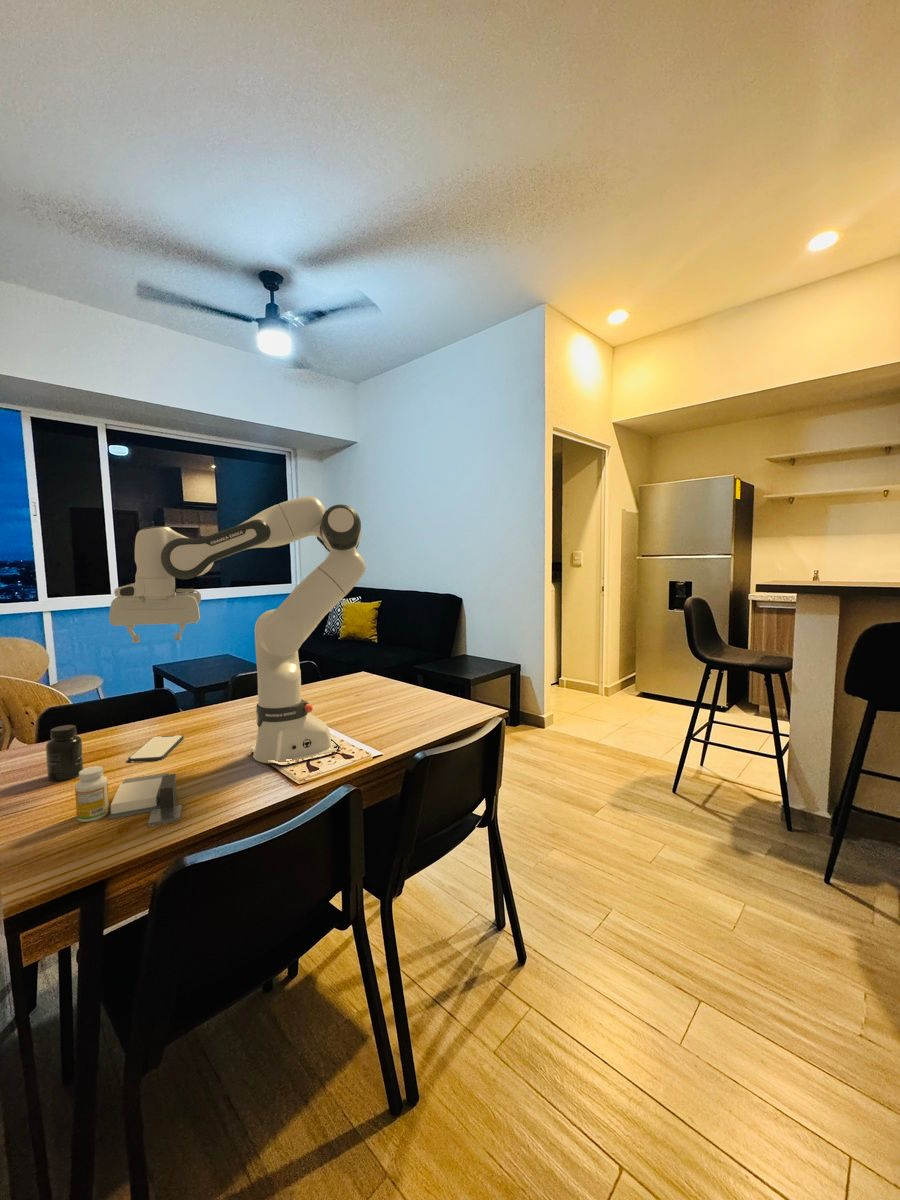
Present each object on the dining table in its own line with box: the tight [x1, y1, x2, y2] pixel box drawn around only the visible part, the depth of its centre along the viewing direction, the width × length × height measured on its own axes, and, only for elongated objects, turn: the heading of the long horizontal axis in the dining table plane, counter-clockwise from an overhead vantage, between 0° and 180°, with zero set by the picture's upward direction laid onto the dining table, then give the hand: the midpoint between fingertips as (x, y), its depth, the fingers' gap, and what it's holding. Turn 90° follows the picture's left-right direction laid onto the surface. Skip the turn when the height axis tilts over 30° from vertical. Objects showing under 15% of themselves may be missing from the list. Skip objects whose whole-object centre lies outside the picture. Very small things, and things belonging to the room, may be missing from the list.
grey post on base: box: [147, 773, 183, 827], centre depth 102 cm, size 12×6×5 cm, turn 25°
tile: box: [110, 778, 162, 815], centre depth 105 cm, size 8×2×10 cm
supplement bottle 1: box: [45, 724, 84, 782], centre depth 117 cm, size 7×7×12 cm
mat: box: [107, 772, 170, 820], centre depth 108 cm, size 9×19×1 cm, turn 25°
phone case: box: [127, 734, 185, 762], centre depth 134 cm, size 9×2×16 cm
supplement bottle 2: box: [74, 765, 110, 823], centre depth 99 cm, size 5×5×10 cm
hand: (157, 641), depth 127 cm, fingers open, 8 cm apart
